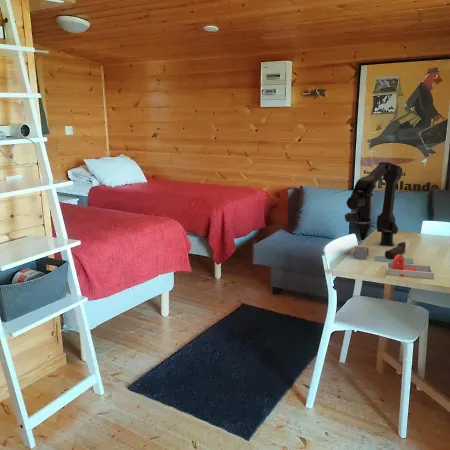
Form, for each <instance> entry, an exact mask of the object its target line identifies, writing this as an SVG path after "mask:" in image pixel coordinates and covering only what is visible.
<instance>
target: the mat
mask: <svg viewBox="0 0 450 450" xmlns="http://www.w3.org/2000/svg"><path fill="white" fill-rule="evenodd" d="M394 258H395V256H394ZM394 258H392V259H388V258H386V257H385V255H375V256H374V262H383V263H384V262H385V263H387V262H390V263H393V261H394ZM398 263H399V262H398ZM404 264H414V265H415V262H414V259H413V258H410V257H409V258H406V257H404Z"/></svg>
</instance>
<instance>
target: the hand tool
mask: <svg viewBox="0 0 450 450" xmlns="http://www.w3.org/2000/svg"><path fill="white" fill-rule="evenodd" d="M405 252H406V242H399V243H398V244H397V246H395V247H393V248H391V249H388V250H385V252H384V256H385V257H386V258H388V259H392V258H394V257H395V256H396V255H398V254H399V255H400V254H404V253H405Z"/></svg>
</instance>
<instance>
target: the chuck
mask: <svg viewBox="0 0 450 450" xmlns="http://www.w3.org/2000/svg"><path fill="white" fill-rule="evenodd" d="M355 247H356V249H355V248H354V260H355V259H356V260H365V259H366V260H367V259H368V258H367V256H368V255H367V248H358V247H359V246H355Z"/></svg>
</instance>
